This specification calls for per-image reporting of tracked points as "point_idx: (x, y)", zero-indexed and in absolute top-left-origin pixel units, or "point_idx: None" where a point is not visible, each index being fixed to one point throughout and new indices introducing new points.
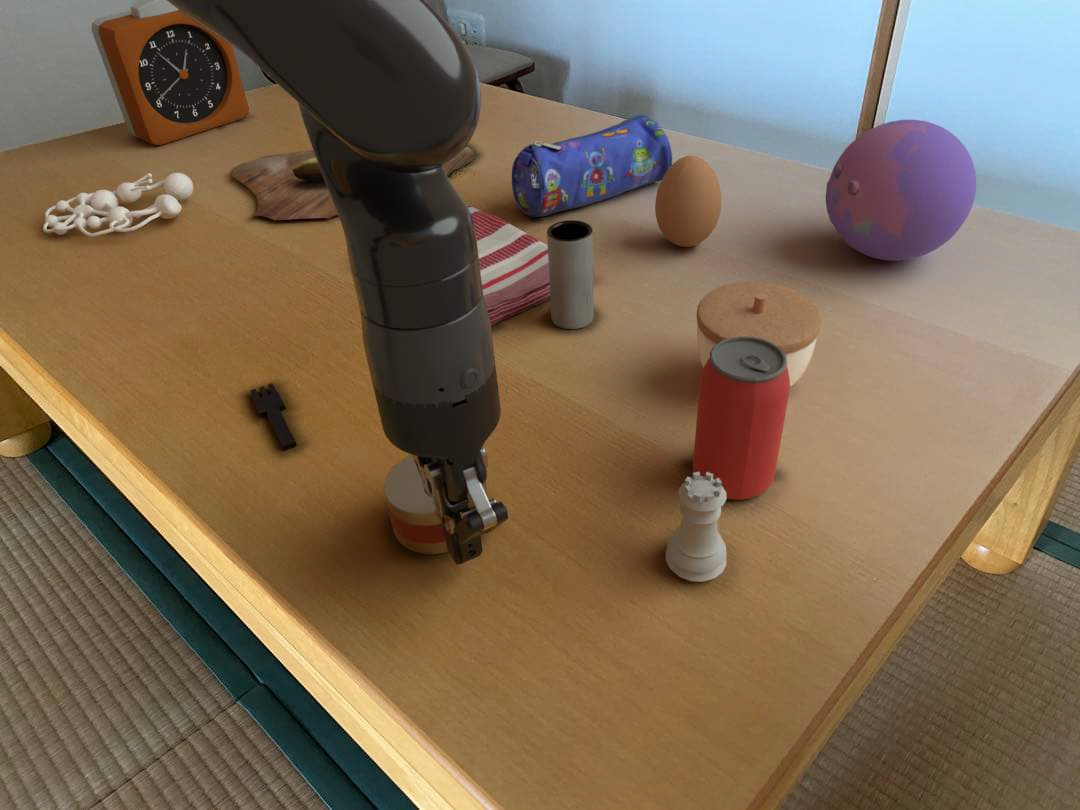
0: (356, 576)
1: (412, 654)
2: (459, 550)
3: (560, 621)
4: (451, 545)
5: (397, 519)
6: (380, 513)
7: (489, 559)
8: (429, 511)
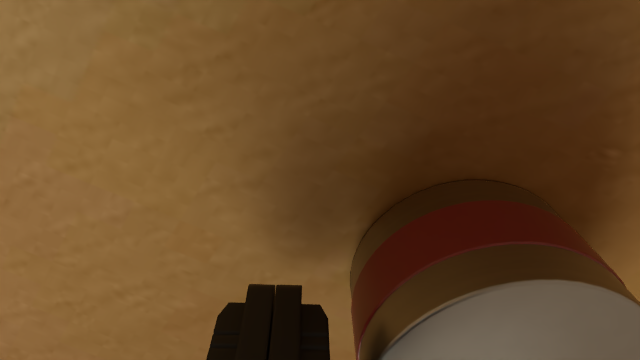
0: (434, 32)
1: (93, 61)
2: (229, 336)
3: (63, 344)
4: (243, 336)
5: (473, 244)
6: (592, 178)
7: None
8: (390, 356)
